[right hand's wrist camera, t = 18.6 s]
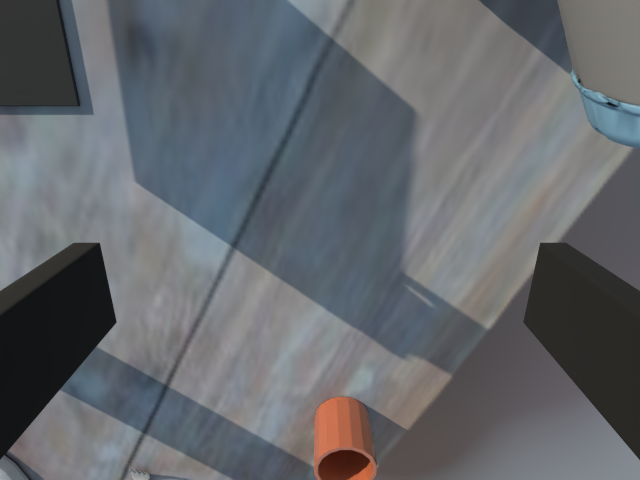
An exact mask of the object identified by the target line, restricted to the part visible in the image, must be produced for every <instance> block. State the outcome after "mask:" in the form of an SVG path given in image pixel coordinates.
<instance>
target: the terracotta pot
mask: <svg viewBox="0 0 640 480" xmlns="http://www.w3.org/2000/svg"><path fill="white" fill-rule="evenodd" d="M376 473H377V462H376V456H375V449H374V442H373V435H372V429H371V422H370V417H369V413H368V410H367V409H366V407H365V406H364V405H363V404H362V403H361V402H359V401H358V400H356V399H353V398H349V397H336V398H332V399H329V400H327V401H326V402H324V403H323V404H322V405H320V407H319V408H318V409H317V411H316V414H315V436H314V475H315V477H316V479H317V480H373V479H374V478H375V476H376Z"/></svg>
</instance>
